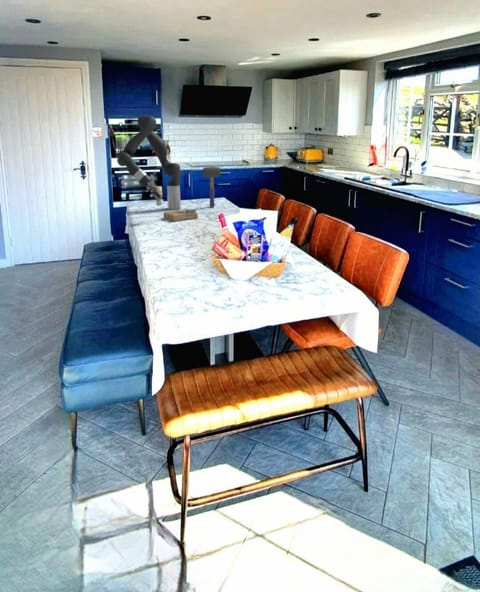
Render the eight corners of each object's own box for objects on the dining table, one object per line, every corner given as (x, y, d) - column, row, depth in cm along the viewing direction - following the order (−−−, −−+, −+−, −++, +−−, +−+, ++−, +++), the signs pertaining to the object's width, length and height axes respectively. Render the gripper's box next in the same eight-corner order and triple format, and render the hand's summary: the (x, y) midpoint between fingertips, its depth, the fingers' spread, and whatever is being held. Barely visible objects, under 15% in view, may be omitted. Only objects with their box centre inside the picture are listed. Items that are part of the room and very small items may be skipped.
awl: (153, 204, 336) (152, 186, 332) (160, 204, 339) (159, 185, 335) (157, 206, 333) (156, 187, 328) (164, 205, 336) (163, 186, 331)
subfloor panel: (163, 217, 349) (163, 212, 347) (186, 214, 359) (186, 209, 358) (174, 221, 338) (174, 215, 336) (197, 218, 348) (197, 212, 346)
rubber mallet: (219, 206, 391) (219, 166, 380) (221, 207, 384) (220, 167, 373) (203, 206, 389) (202, 166, 378) (204, 208, 382) (203, 167, 371)
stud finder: (185, 212, 346) (185, 209, 345) (193, 211, 350) (193, 208, 349) (188, 213, 344) (188, 210, 343) (195, 212, 347) (195, 209, 346)
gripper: (142, 175, 323) (162, 194, 326) (148, 172, 336) (167, 190, 339) (135, 183, 325) (154, 202, 328) (141, 180, 339) (160, 198, 342)
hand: (161, 196), depth 334 cm, fingers closed on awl, 5 cm apart
